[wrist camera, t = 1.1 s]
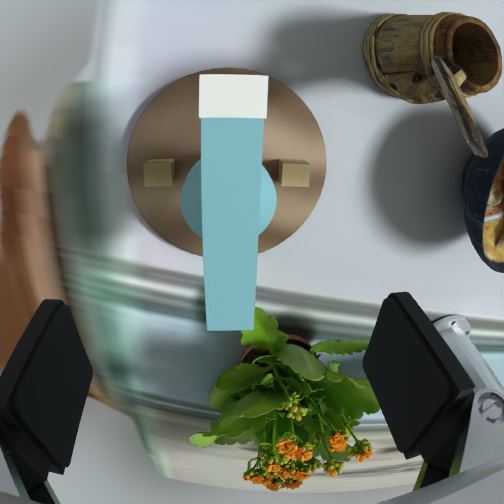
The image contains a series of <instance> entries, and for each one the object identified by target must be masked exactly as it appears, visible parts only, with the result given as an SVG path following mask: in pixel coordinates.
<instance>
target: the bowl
mask: <svg viewBox="0 0 504 504" xmlns="http://www.w3.org/2000/svg"><path fill="white" fill-rule="evenodd" d="M484 144H485V147H486V149H487V152H488V156H487V158H485V157H481V156H477V155H475V154H474V153H473V154H472V156H471V157H470V158H469V160H468V162H467V164H466V166H465V169H464V172H463V176H462V194H463V206H464V218H465V223H466V228H467V231H468V234H469V237H470V239H471V242H472V244H473V246H474V248H475V250H476V251H477V253H478V255H479V256H480V258H481V259H482V260H483V261H484V262H485V263H486V264H487V265H488V266H489V267H490V268H491V269H493V270H494V271H497V272H501V273H504V128H503V129H501V130H499V131H497V132H495V133H494V134H493V135H491V136H490V137H489V138H488V139H487V140H486V141H485V142H484Z"/></svg>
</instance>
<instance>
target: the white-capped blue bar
mask: <svg viewBox="0 0 504 504" xmlns="http://www.w3.org/2000/svg"><path fill="white" fill-rule="evenodd" d="M267 97H268V76H263V75H235V74H203V75H200V78H199V118H201V159H200V160H199V161H198V162H197V163H196V164H195V165H194V166H193V167H192V168H191V170H190V172H189V173H188V175H187V178H186V180H185V183H184V185H183V188H182V192H181V209H182V213H183V216H184V218H185V221H186V222H187V224H188V225H189V227H190V228H191V229H192V230H193V231H194V232H195V233H196V234H197V235H198V236H200V237H201V238H203V262H204V284H205V304H206V321H207V331H230V330H254V312H255V293H256V273H257V254H258V235H259V234H261V233H262V232H263V231H264V230H265V229H266V227H267V226H268V225H269V223H270V222H271V220H272V218H273V216H274V213H275V209H276V203H277V196H276V190H275V186H274V184H273V181H272V179H271V177H270V175H269V174H268V172H267V170H266V169H265V167H264V166H263V165H262V151H263V130H264V118H265V119H267Z"/></svg>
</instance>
